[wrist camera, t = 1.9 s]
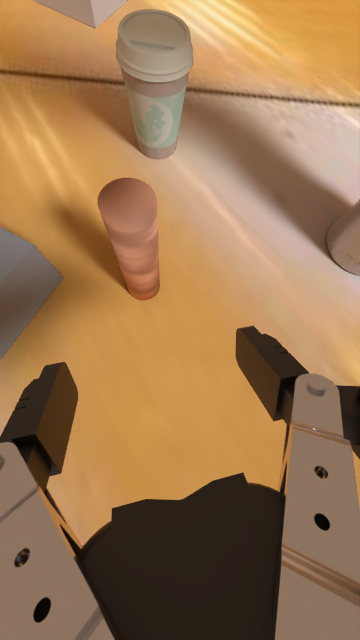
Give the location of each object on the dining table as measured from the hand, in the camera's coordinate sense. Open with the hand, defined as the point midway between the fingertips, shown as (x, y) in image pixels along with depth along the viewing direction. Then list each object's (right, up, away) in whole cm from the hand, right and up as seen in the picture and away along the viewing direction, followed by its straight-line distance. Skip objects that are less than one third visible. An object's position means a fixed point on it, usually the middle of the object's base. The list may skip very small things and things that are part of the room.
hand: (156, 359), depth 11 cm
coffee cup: (-2, +28, +25) cm, 38 cm away
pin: (-4, +6, +18) cm, 20 cm away
